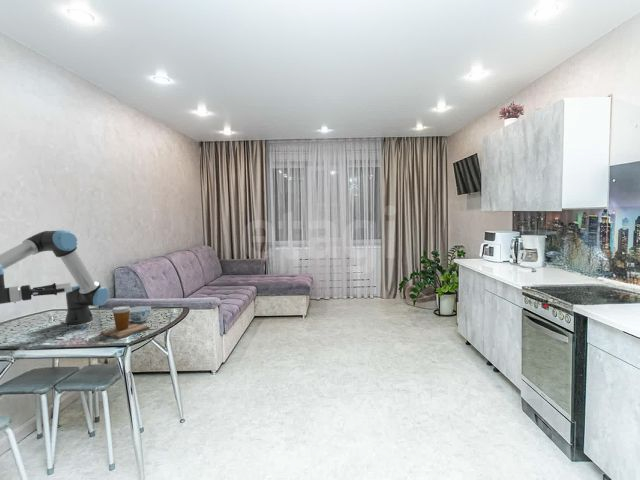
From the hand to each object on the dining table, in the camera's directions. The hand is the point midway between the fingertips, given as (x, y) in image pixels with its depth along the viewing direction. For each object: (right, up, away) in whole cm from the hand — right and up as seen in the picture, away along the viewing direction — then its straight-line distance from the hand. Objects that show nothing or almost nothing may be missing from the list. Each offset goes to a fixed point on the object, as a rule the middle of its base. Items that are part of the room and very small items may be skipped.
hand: (71, 286), depth 206 cm
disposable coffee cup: (+19, -26, +16) cm, 36 cm away
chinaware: (+19, -26, +36) cm, 49 cm away
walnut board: (+22, -27, +15) cm, 38 cm away
